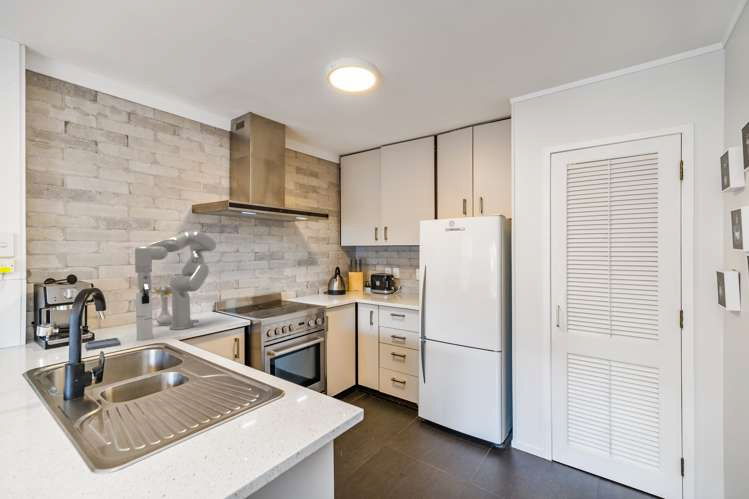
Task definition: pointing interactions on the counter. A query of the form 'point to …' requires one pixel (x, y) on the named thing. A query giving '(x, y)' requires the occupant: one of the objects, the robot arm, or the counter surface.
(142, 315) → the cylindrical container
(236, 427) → the counter surface
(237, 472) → the counter surface
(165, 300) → the flower vase
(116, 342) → the slate tray
